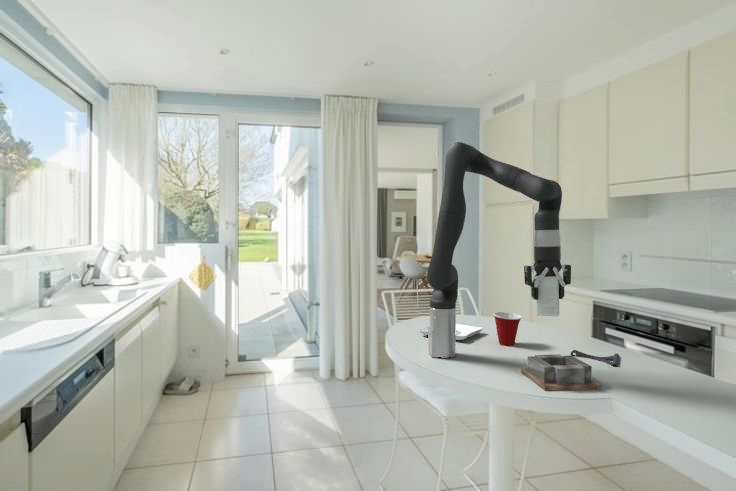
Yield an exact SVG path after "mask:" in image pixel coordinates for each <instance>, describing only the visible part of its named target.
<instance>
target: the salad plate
mask: <svg viewBox="0 0 736 491" xmlns="http://www.w3.org/2000/svg"><path fill="white" fill-rule="evenodd" d="M428 327H430V325H427V326H425V327H422V328H420V329H419V330H418V331H419V333H420V334H422V335H425V336H427V335H428ZM483 329H484V327H481V326H473V325H467V324H462V323H461V324H460V323H456V330H458V331H460V332H461V334H459V335H456V340H462V341H465V340H467V339H469V338H471V337H474V336H475V335H477V334H479V333H480V332H482V331H483ZM468 337H469V338H468ZM466 338H467V339H466ZM464 339H465V340H464Z"/></svg>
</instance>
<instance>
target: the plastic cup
mask: <svg viewBox="0 0 736 491" xmlns="http://www.w3.org/2000/svg"><path fill="white" fill-rule="evenodd" d="M492 314H493V317H494V320H495V321H494V323H495V327H496V333H497V334H496V335H497V340H498V343H499V345H500V346H505V347H512V346H514V345H515V344H516V338H517V333H518V328H519V325H520V322H521V319H522V318H523V317H522V315H520V314H518V313H514V312H508V311H495V312H493V313H492Z"/></svg>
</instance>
